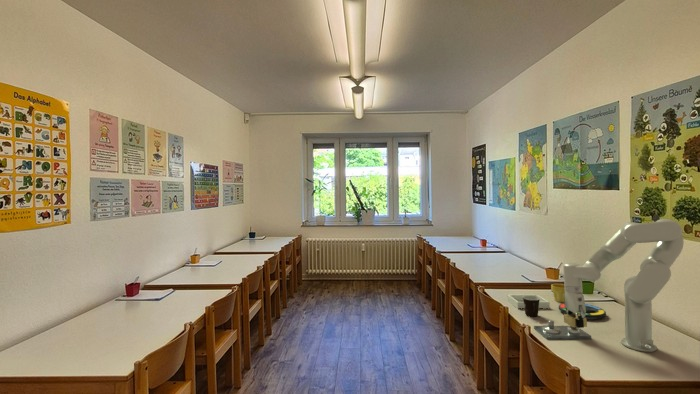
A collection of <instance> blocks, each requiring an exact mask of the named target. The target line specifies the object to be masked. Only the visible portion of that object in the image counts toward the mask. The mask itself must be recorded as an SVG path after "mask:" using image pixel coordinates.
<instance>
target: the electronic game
mask: <svg viewBox="0 0 700 394" xmlns="http://www.w3.org/2000/svg"><path fill="white" fill-rule="evenodd" d="M564 304H565V302H562V303H560V304H559V305H558V310H559V311H560V312H561V313H563V315H564V314H567V313H566V309H565V308H566V307H565V305H564ZM585 308H586V315H585V318H587V320H599V319H601V318H604V317H606V315H607V312H606V310H604V309H603V308H601V307H599V306H596V305H592V304H587V303H585ZM577 313H580V312H577ZM579 315H580V314H579Z"/></svg>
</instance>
